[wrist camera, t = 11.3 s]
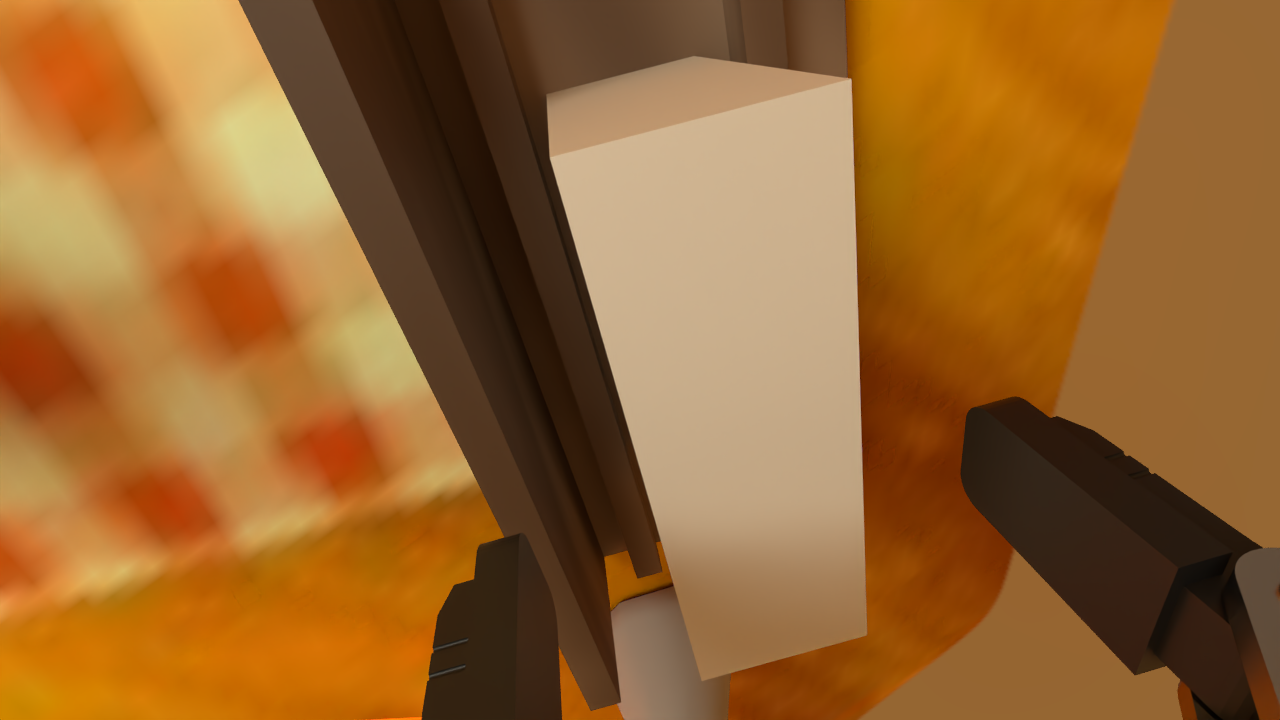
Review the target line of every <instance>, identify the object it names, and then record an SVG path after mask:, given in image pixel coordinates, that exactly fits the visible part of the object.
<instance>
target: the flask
mask: <svg viewBox="0 0 1280 720" xmlns="http://www.w3.org/2000/svg"><path fill="white" fill-rule="evenodd" d="M611 620H612V628H613V637H614V646H615V654H616V663H617V671H618V680H619V688H620V697H621V703H617V705H618V707H619V709H620V711H621V714H622V716H623V718H624V720H728V703H729V690H730V678H731V673H729V674H725V675H722V676H718V677H715V678H711V679H707V680H704V681H701V677H700V674H699V670H698V667H697V663H696V660H695V656H694V653H693V650H692V646H691V643H690V639H689V636H688V632H687V629H686V625H685V622H684V619H683V615H682V612H681V608H680V605H679V601H678V598H677V594H676V591H675V588H674V586H672V587H669V588H666V589H663V590H659V591H656V592H653V593H649V594H646V595H643V596H640V597H636V598H633V599H630V600H627V601H623V602H620V603H619V604H618V605H617V606H616V607H615V608H614V609H613V610H612V611H611Z"/></svg>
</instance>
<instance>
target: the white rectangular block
mask: <svg viewBox="0 0 1280 720" xmlns="http://www.w3.org/2000/svg"><path fill="white" fill-rule="evenodd" d="M546 96H547V115H548V134H549V153H550V160H551V164H552V167H553V170H554V174H555V177H556V181H557V184H558V188H559V191H560V195H561V198H562V202H563V205H564V208H565V212H566V215H567V219H568V222H569V226H570V229H571V233H572V236H573V239H574V243H575V246H576V250H577V253H578V257H579V260H580V264H581V267H582V270H583V274H584V277H585V281H586V284H587V288H588V291H589V295H590V298H591V301H592V305H593V308H594V312H595V315H596V319H597V322H598V326H599V329H600V332H601V336H602V339H603V343H604V346H605V350H606V353H607V357H608V360H609V363H610V367H611V370H612V374H613V377H614V381H615V384H616V388H617V391H618V395H619V398H620V401H621V405H622V408H623V412H624V415H625V419H626V422H627V426H628V429H629V432H630V436H631V439H632V443H633V446H634V450H635V453H636V457H637V460H638V463H639V467H640V470H641V474H642V477H643V481H644V484H645V488H646V491H647V494H648V498H649V501H650V505H651V508H652V512H653V515H654V519H655V522H656V525H657V529H658V532H659V536H660V539H661V543H662V546H663V550H664V553H665V556H666V560H667V563H668V567H669V570H670V574H671V577H672V581H673V584H674V588H675V591H676V594H677V598H678V601H679V605H680V608H681V612H682V615H683V619H684V622H685V625H686V629H687V632H688V636H689V639H690V643H691V646H692V650H693V653H694V656H695V660H696V663H697V667H698V670H699V674H700V677H701V681H704V680H707V679H711V678H715V677H718V676H722V675H725V674H729V673H733V672H736V671H740V670H744V669H747V668H751V667H754V666H758V665H762V664H765V663H769V662H772V661H776V660H780V659H783V658H787V657H790V656H794V655H798V654H801V653H805V652H809V651H812V650H816V649H819V648H823V647H827V646H830V645H834V644H837V643H841V642H845V641H848V640H852V639H855V638H859V637H863V636H866V635H867V613H866V577H865V542H864V506H863V470H862V434H861V399H860V363H859V327H858V291H857V256H856V220H855V184H854V148H853V113H852V79H849V78H843V77H836V76H829V75H822V74H815V73H808V72H801V71H794V70H787V69H780V68H774V67H767V66H760V65H753V64H746V63H739V62H732V61H725V60H718V59H711V58H705V57H698V56H692V57H688V58H684V59H681V60H677V61H673V62H669V63H665V64H661V65H657V66H654V67H650V68H646V69H642V70H638V71H634V72H630V73H626V74H623V75H619V76H615V77H611V78H607V79H603V80H599V81H596V82H592V83H588V84H584V85H580V86H576V87H572V88H569V89H565V90H561V91H557V92H553V93H549V94H546Z"/></svg>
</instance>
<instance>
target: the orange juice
mask: <svg viewBox="0 0 1280 720" xmlns="http://www.w3.org/2000/svg"><path fill="white" fill-rule="evenodd" d="M421 718H422V717H416V718H395V719H373V720H421Z"/></svg>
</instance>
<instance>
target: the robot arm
mask: <svg viewBox="0 0 1280 720" xmlns="http://www.w3.org/2000/svg"><path fill="white" fill-rule="evenodd" d="M961 480H962V484H963V487H964V489H965V492H966V494H967V496H968V498H969V499H970V501H971V502H972V504H973V505H974V506H975V507H976V508H977V509H978V511H979V512H980V513H981V514H982V515H983V516H984V517H985V518H986V519H987V520H988V521H989V522H990V523H991V524H992V525H993V526H994V527H995V528H996V529H997V531H998V532H999V533H1000V534H1001V535H1002V536H1003V537H1004V538H1005V539H1006V540H1007V541H1008V542H1009V543H1010V544H1011V545H1012V546H1013V547H1014V548H1015V549H1016V551H1017V552H1018V553H1019V554H1020V555H1021V556H1022V557H1023V558H1024V559H1025V560H1026V561H1027V562H1028V563H1029V564H1030V565H1031V566H1032V567H1033V568H1034V570H1036V572H1037V573H1038V574H1039V575H1040V576H1041V577H1042V578H1043V579H1044V580H1045V581H1046V582H1047V583H1048V584H1049V585H1050V586H1051V587H1052V588H1053V589H1054V591H1055V592H1056V593H1057V594H1058V595H1059V596H1060V597H1061V598H1062V599H1063V600H1064V601H1065V602H1066V603H1067V604H1068V605H1069V606H1070V607H1071V608H1072V609H1073V611H1074V612H1075V613H1076V614H1077V615H1078V616H1079V617H1080V618H1081V619H1082V620H1083V621H1084V622H1085V623H1086V624H1087V625H1088V626H1089V627H1090V629H1091V630H1092V631H1093V632H1094V633H1096V635H1097V636H1098V637H1099V638H1100V639H1101V640H1102V641H1103V642H1104V643H1105V644H1106V645H1107V646H1108V647H1109V649H1110V650H1111V651H1112V652H1113V653H1114V654H1115V655H1116V656H1117V657H1118V658H1119V659H1120V660H1121V661H1122V662H1123V663H1124V664H1125V665H1126V666H1127V667H1128V668H1129V670H1131V672H1132V673H1133V674H1134V675H1138V674H1141V673H1145V672H1148V671H1151V670H1154V669H1158V668H1161V667H1165V666H1167V667H1168V668H1169V669H1170V670H1171V671H1172V672H1173V673H1174V674H1175V675H1176V676H1177V677H1178V678H1179V679H1180V683H1179V685H1178V699H1179V704H1180V708H1181V712H1182V717H1183V720H1280V548H1262V547H1261V546H1259V545H1258V544H1256V543H1255V542H1253V541H1252V540H1250V539H1249V538H1247V537H1246V536H1244V535H1243V534H1241V533H1240V532H1238V531H1237V530H1236V529H1234V528H1233V527H1231V526H1230V525H1228V524H1227V523H1226V522H1224V521H1223V520H1221V519H1220V518H1218V517H1217V516H1216V515H1214V514H1213V513H1211V512H1210V511H1208V510H1207V509H1206V508H1204V507H1202V506H1201V505H1200V504H1198V503H1197V502H1196V501H1194V500H1193V499H1191V498H1190V497H1188V496H1187V495H1185V494H1184V493H1183V492H1181V491H1180V490H1178V489H1177V488H1175V487H1174V486H1173V485H1171V484H1170V483H1168V482H1167V481H1165V480H1164V479H1162V478H1161V477H1160V476H1158V475H1157V474H1155V473H1154V474H1151V473H1150V472H1149V469H1148V468H1147V467H1145V466H1144V465H1142V464H1141V463H1139V462H1138V461H1137V460H1135V459H1134V458H1132V457H1131V456H1125V455H1124V452H1123V451H1122V450H1121V449H1119V448H1118V447H1117V446H1115V445H1114V444H1112V443H1111V442H1109V441H1108V440H1107V439H1105V438H1104V437H1102V436H1101V435H1099V434H1098V433H1096V432H1095V431H1093V430H1091V429H1088V428H1086V427H1083V426H1081V425H1078V424H1075V423H1073V422H1071V421H1068V420H1066V419H1063V418H1061V417H1058V416H1056V417H1053V418H1049V417H1048V416H1047V415H1045V414H1044V413H1043V412H1041V411H1040V410H1039V409H1037V408H1036V407H1034V406H1033V405H1032V404H1030V403H1029V402H1028V401H1026V400H1024V399H1022V398H1020V397H1010V398H1006V399H1003V400H999V401H996V402H992V403H989V404H985V405H981V406H978V407H974V408H972V409H970V410H969V412H968V413H967V416H966V424H965V434H964V444H963V454H962V464H961ZM433 650H434V653H433V654H432V655H431V661H430V667H429V681H427V686H426V693H425V699H424V705H423V712H422V718H421V720H562V710H561V689H560V669H559V648H558V627H557V617H556V611H555V605H554V601H553V597H552V594H551V591H550V588H549V586H548V583H547V581H546V579H545V577H544V575H543V572H542V570H541V568H540V566H539V563H538V561H537V559H536V557H535V554H534V552H533V550H532V548H531V545H530V543H529V541H528V539H527V537H526V535H525V534H524V533H519V534H516V535H512V536H509V537H505V538H501V539H498V540H494V541H491V542H487V543H484V544H480V545H479V547H478V550H477V557H476V566H475V576H474V579H473V580H470V581H466V582H463V583H459V584H456V585H454V586H453V588H452V590H451V592H450V594H449V596H448V597H447V599H446V601H445V603H444V605H443V607H442V608H441V610H440V612H439V614H438V617H437V623H436V629H435V636H434V642H433Z"/></svg>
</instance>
